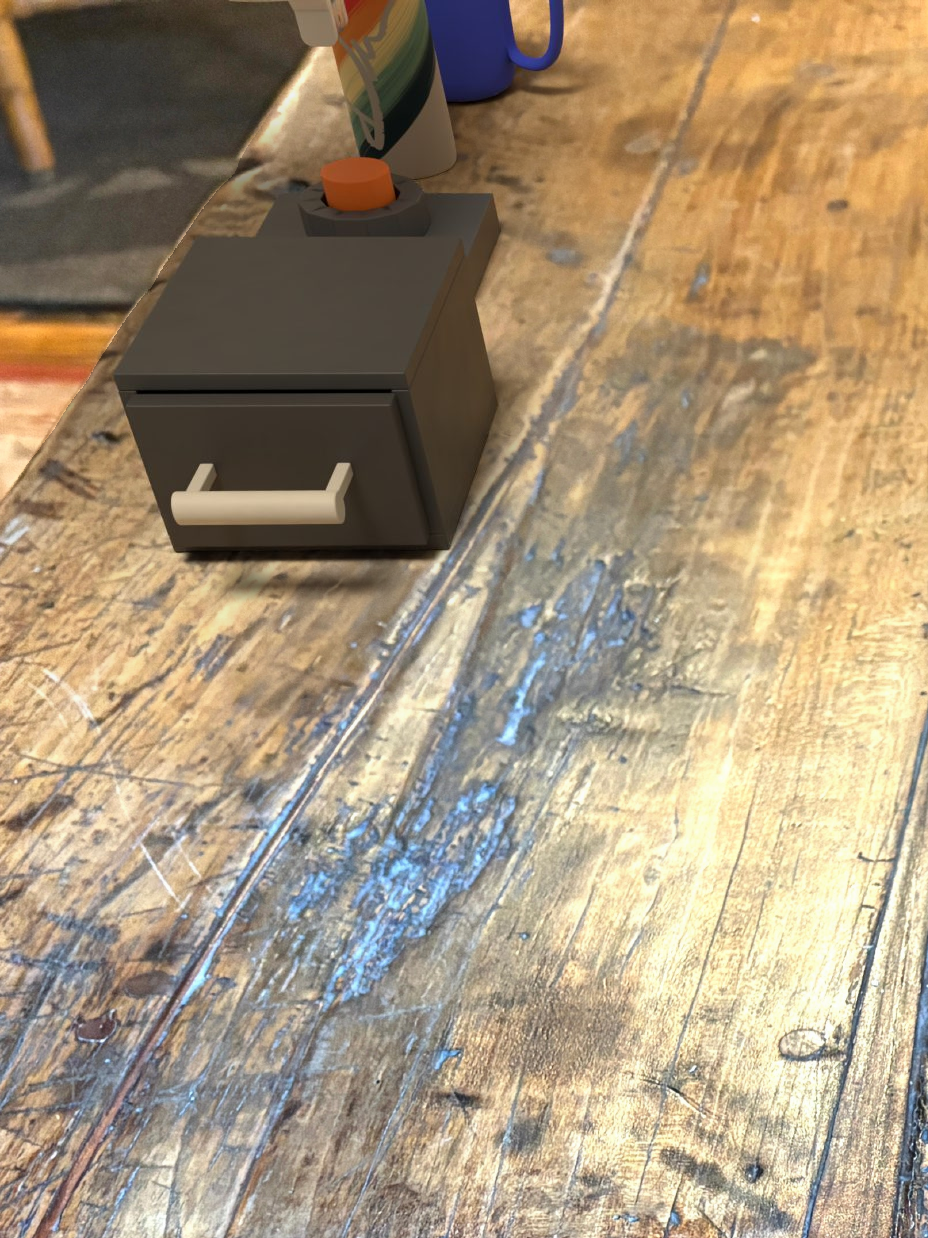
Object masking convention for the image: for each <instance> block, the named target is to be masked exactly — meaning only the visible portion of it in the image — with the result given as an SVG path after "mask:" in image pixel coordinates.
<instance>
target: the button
mask: <svg viewBox="0 0 928 1238" xmlns="http://www.w3.org/2000/svg"><path fill="white" fill-rule="evenodd" d="M319 175H320V178H321V181H322V183H323V187H324V191H325V194H326V198H327V202H328V206H329V207H330V208H334V209H338V210H342V211H366V210H370V209H375V208H380V207H384V206H386V205H388V204H390V203H392V202H394V201H396V196H395V192H394V188H393V184H392V179H391V175H390V171H389V167H388V165H387V164H386V163H385V162H383V161H381V160H378V159H374V158H366V157H360V156H357V157H355V156H354V157H346V158H341V159H337V160H334V161H332V162H329V163H327V164H325V165H324V166H323V167H322V168H321V169H320V171H319Z"/></svg>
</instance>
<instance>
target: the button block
mask: <svg viewBox="0 0 928 1238" xmlns="http://www.w3.org/2000/svg"><path fill="white" fill-rule="evenodd" d="M390 175H391V179H392V184H393V188H394V192H395V196H396V201H394V202H392V203H390V204H388V205H386V206H384V207H380V208H375V209H370V210H366V211H342V210H338V209H334V208H330V207H329V206H328V202H327V198H326V194H325V191H324V187H323V183H322V180H319V181H318V182H316V183H314V184H312V185H310V186H308V187H306V188H304V189H303V191H302V192H279V193H278V195H277V197H276V198H275V200H274V202H273V204H272V205H271V207H270V209H269V211H268V213H267V214H266V216H265V217H264V219H263V221H262V223H261V225H260V226H259V228H258V230H257V231H256V233H255V235H254V237H461V238H462V242H463V247H464V251H465V252H464V253H465V256H466V260H467V265H468V269H469V274H470V278H471V283H472V287H473V292H474V296H475V297H476V295H477V293H478V290H479V288H480V285H481V282H482V280H483V277H484V275H485V272H486V270H487V267H488V265H489V262H490V260H489V259H491V257H492V254H493V252H494V249H495V247H496V244H497V242H498V239H499V237H500V234H501V231H502V230H501V226H500V220H499V216H498V211H497V207H496V206H497V205H496V202H495V196H494V194H493V193H492V192H489V193H488V192H460V193H459V192H425V191H424V188H422V186H421V185H420V184H419V183H417V182H416V181H415V179H412V178H408V177H404V176H400V175H396V174H392V173H390ZM492 251H493V252H492ZM491 253H492V254H491ZM490 256H491V257H490Z"/></svg>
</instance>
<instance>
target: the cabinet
mask: <svg viewBox="0 0 928 1238" xmlns="http://www.w3.org/2000/svg"><path fill="white" fill-rule="evenodd" d="M464 252H465V251H464V247H463V242H462V238H461V237H255V236H196V237H195V239H194V240H193V242H192V244H191V245H190V247H189V249H188V250H187V252H186V253H185V255H184V256H183V258H182V260H181V261H180V263H179V265H178V266H177V268H176V270H175V272H174V273H173V274H172V276H171V278H170V279H169V281H168V282H167V284H166V286H165V287H164V289H163V291H162V292H161V294H160V295H159V297H158V298H157V300H156V302H155V304H154V306H153V307H152V309H151V310H150V311H149V313H148V315H147V317H146V319H144V321H143V323H142V325H141V327H140V328H139V330H138V331H137V333H136V335H135V336H134V338H133V340H132V341H131V343H130V344H129V346H128V348H127V350H126V351H125V352H124V354H123V356H122V357H121V358H120V361H119V363H118V364H117V365H116V367H115V369H114V370H113V372H112V378H113V380H114V383H115V386H116V389H117V392H118V396H119V398H120V401H121V404H122V407H123V410H124V412H125V415H126V418H127V421H128V424H129V427H130V430H131V432H132V436H133V438H134V439H133V440H134V441H135V444H136V448H137V450H138V453H139V455H140V458H141V461H142V464H143V467H144V470H145V472H146V475H147V478H148V482H149V485H150V487H151V490H152V493H153V496H154V499H155V501H156V504H157V508H158V509H159V513H160V515H161V519H162V522H163V525H164V528H165V530H166V534H167V536H168V538H169V540H170V543H171V544H170V545H171V546H172V549H173V552H267V551H269V552H270V551H271V552H273V551H275V552H277V551H280V552H281V551H284V552H285V551H286V552H287V551H383V550H384V551H386V550H387V551H390V550H392V551H394V550H395V551H396V550H400V551H401V550H402V551H403V550H448V549H449V548H450V545H451V542H452V540H453V536H454V533H455V532H456V531H455V530H456V528H457V525H458V522H459V519H460V516H461V514H462V510H463V507H464V505H465V502H466V500H467V496H468V493H469V490H470V487H471V484H472V481H473V479H474V476H475V473H476V470H477V467H478V465H479V461H480V459H481V456H482V452H483V450H484V447H485V444H486V441H487V438H488V436H489V433H490V430H491V427H492V424H493V420H494V418H495V415H496V412H497V409H498V406H499V402H498V398H497V397H498V396H497V393H496V387H495V382H494V378H493V373H492V369H491V365H490V360H489V357H488V352H487V347H486V342H485V338H484V333H483V329H482V328H483V327H482V323H481V320H480V319H481V318H480V315H479V311H478V310H479V309H478V305H477V301H476V295H475V296H474V292H473V287H472V283H471V278H470V274H469V269H468V265H467V260H466V256H465V253H464ZM379 389H392V390H391V392H392V393H395V394H396V398H397V402H398V406H399V409H400V413H401V417H402V421H403V425H404V429H405V433H406V437H407V441H408V445H409V449H410V453H411V457H412V460H413V464H414V468H415V472H416V476H417V480H418V484H419V488H420V492H421V496H422V500H423V504H424V508H425V512H426V515H427V519H428V523H429V527H430V531H431V533H430V536H429V538H428V541H427V544H426V545H354V546H236V547H175V546H174V544H173V541H172V538H171V536H170V533H169V530H168V527H167V524H166V521H165V518H164V515H163V513H162V510H161V507H160V504H159V501H158V498H157V495H156V492H155V490H154V487H153V484H152V481H151V478H150V475H149V472H148V469H147V467H146V464H145V461H144V458H143V455H142V452H141V449H140V446H139V444H138V441H137V438H136V435H135V432H134V429H133V426H132V423H131V421H130V418H129V415H128V412H127V409H126V405H127V403H128V402H129V400H130V398H131V396H132V395H133V394H162V393H161V390H379Z"/></svg>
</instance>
